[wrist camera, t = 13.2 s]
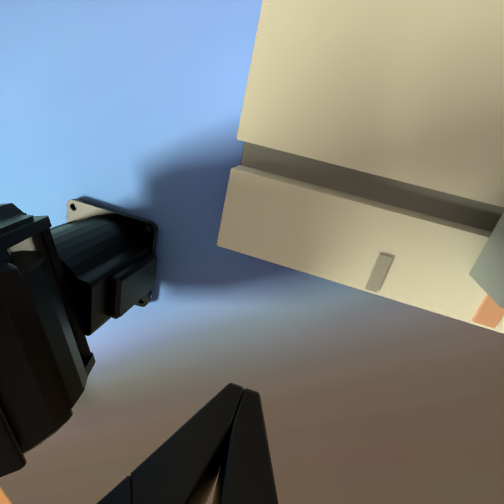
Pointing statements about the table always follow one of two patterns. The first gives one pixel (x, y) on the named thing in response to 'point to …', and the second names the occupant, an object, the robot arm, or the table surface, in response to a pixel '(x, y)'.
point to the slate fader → (492, 265)
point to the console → (375, 147)
